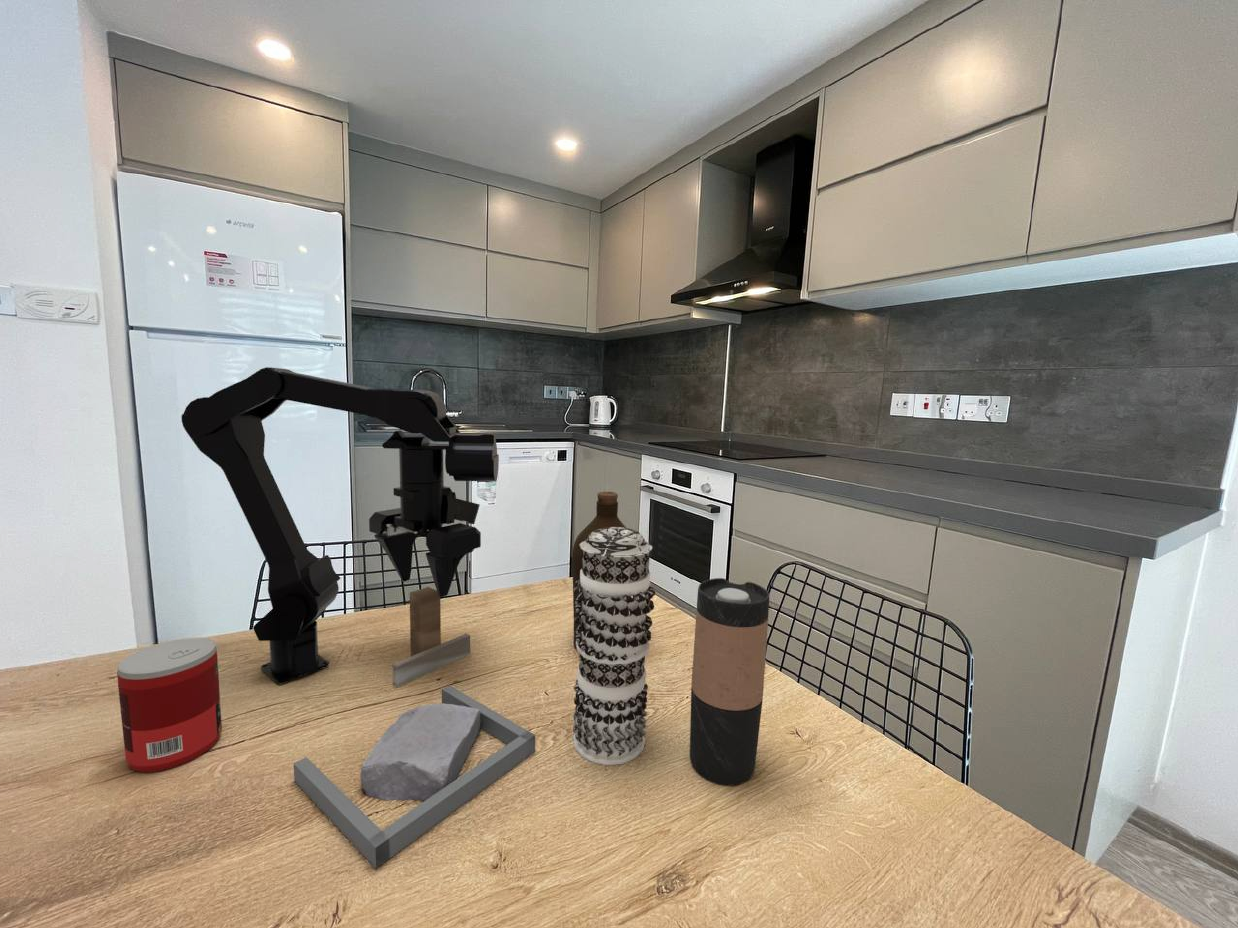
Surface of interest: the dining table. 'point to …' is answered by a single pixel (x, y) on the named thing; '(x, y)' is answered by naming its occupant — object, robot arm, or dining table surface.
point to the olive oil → (603, 519)
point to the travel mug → (728, 679)
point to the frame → (430, 812)
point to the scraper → (427, 640)
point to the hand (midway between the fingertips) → (424, 587)
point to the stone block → (420, 752)
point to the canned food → (169, 703)
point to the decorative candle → (612, 645)
